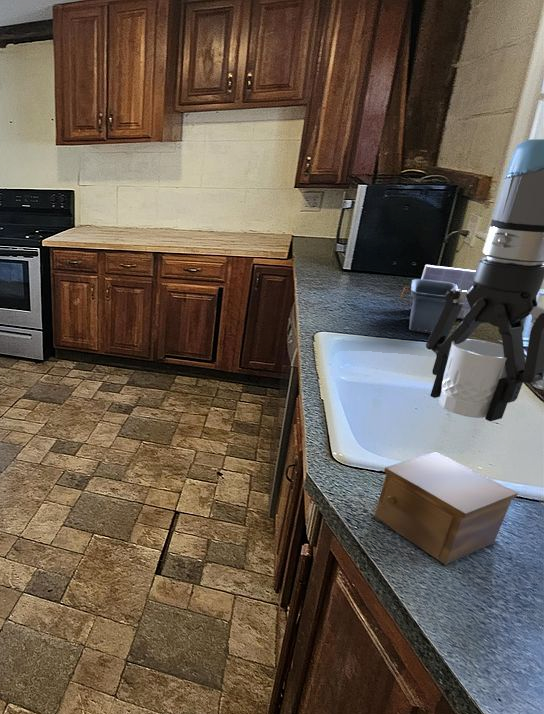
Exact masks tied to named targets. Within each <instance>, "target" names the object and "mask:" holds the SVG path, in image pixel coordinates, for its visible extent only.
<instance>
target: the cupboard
mask: <svg viewBox="0 0 544 714" xmlns="http://www.w3.org/2000/svg"><path fill="white" fill-rule="evenodd" d="M383 472H384V473H385V477H384V480H383V484H382V487H381V491H380V495H379V498H378V501H377V506H376V508H375V511H374V515H373V517H374V518H375V519H376V520H378V521H380V522H381V523H383V524H384V525H385V526H387V527H388V528H390V529H391V530H393V531H394V532H396V533H397V534H399V535H401V536H402V537H403V538H405V539H407V540H408V541H409V542H410V543H412V544H413V545H415V546H417V547H418V548H420V549H421V550H422V551H424V552H426V554H428V555H430V556H432V557H433V558H435V560H437V561H439V562H440V563H442V564H443V565H445V566H446V565H449V564H450V563H452V562H455V561H457V560H459V559H461V558H464V557H467V556H469V555H471V554H474V553H475V552H477V551H480V550H481V549H484V548H486V547H488V546H489V547H490V546H491V545H493V544H495V542H496V539H497V536H498V534H499V533H500V529H501V528H502V524H503V522H504V520H505V517H506V515H507V512H508V510H509V507H510V505H511V502H512V500H513V499H516V498H517V496H518V494H519V492H517V491H516V490H513V489H511V488H509V487H507V486H505V485H503V484H501V483H500V482H498V481H496V480H493V479H491V478H490V477H487V476H485V475H483V474H481V473H479V472H477V471H475V470H474V469H471V468H469V467H467V466H466V465H463V464H461V463H459V462H458V461H455V460H453V459H451V458H449V457H447V456H446V455H443V454H441V453H439V452H437V451H433V452H430V453H426V454H423V455H420V456H416V457H414V458H411V459H407V460H405V461H402V462H398V463H395V464H391V465H389V466H385V467H384V470H383Z"/></svg>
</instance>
